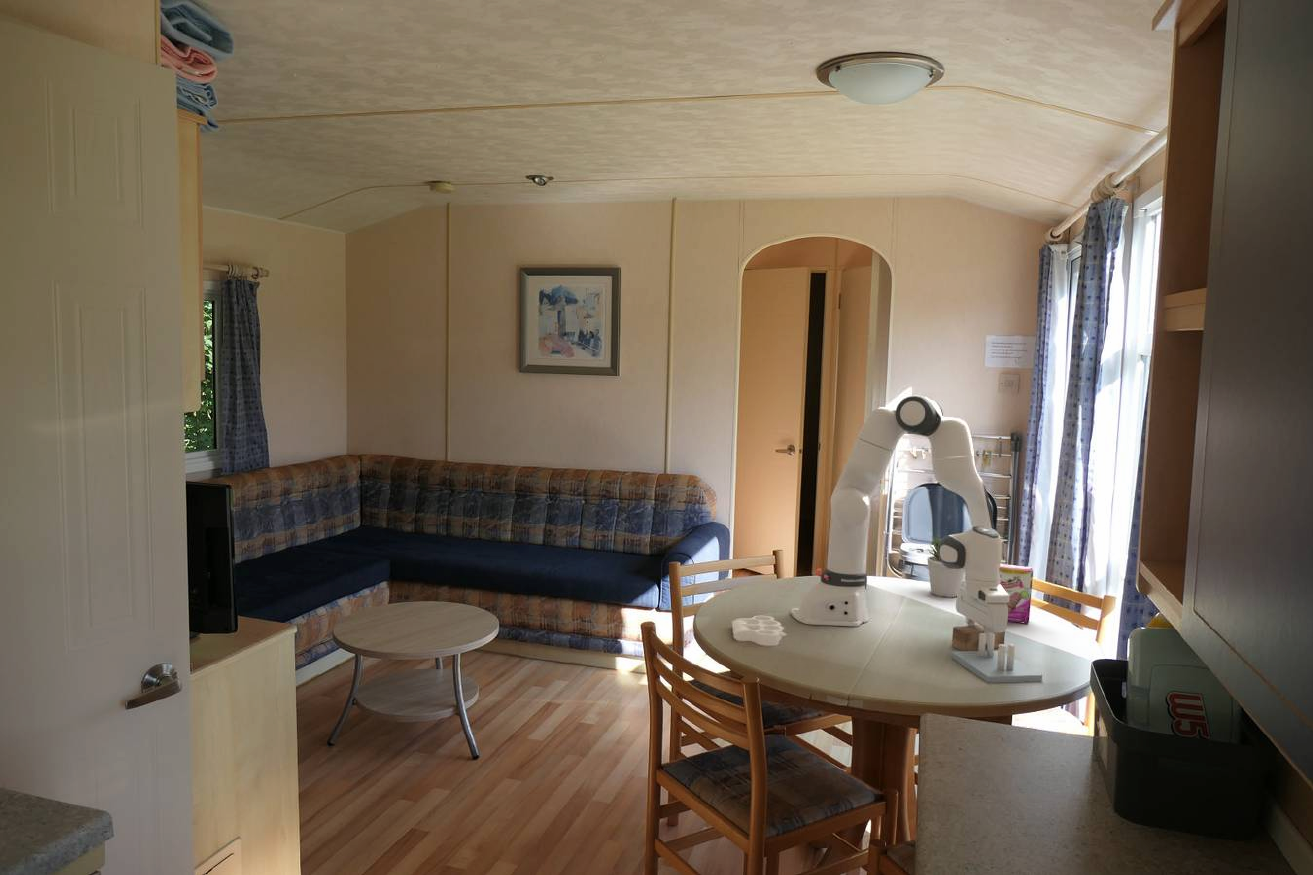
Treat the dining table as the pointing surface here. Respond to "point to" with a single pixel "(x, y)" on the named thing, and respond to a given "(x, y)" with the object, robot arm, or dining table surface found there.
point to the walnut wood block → (972, 637)
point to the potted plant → (943, 575)
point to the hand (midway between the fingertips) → (978, 638)
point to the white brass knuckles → (758, 630)
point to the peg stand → (995, 662)
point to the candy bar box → (1017, 591)
